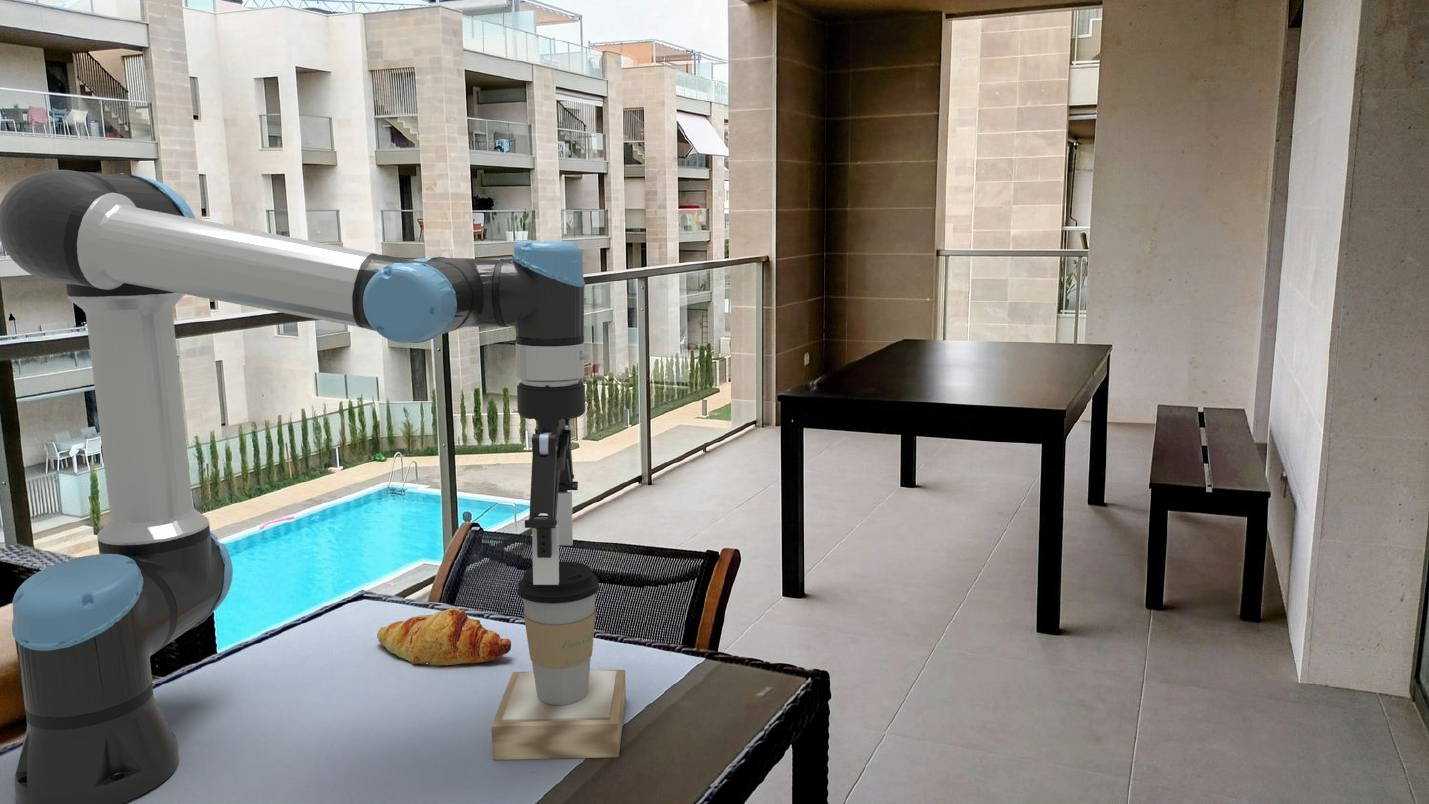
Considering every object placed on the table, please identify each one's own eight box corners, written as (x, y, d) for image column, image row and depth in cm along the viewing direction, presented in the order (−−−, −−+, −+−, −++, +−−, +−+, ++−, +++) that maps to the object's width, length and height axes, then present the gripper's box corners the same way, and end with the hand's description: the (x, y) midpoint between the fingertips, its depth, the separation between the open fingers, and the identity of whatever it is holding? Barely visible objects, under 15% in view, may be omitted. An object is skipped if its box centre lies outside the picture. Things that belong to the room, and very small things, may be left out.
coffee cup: (587, 716, 113) (583, 589, 111) (508, 708, 115) (503, 583, 113) (612, 679, 123) (609, 561, 120) (539, 673, 124) (534, 556, 122)
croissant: (368, 677, 142) (347, 640, 137) (401, 621, 150) (383, 584, 145) (504, 691, 136) (487, 653, 131) (532, 633, 144) (516, 595, 139)
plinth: (493, 759, 113) (491, 724, 112) (513, 701, 126) (512, 669, 126) (618, 757, 113) (617, 721, 112) (625, 699, 127) (625, 667, 126)
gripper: (572, 400, 100) (575, 602, 104) (594, 365, 125) (596, 530, 129) (496, 399, 100) (502, 602, 104) (533, 365, 125) (537, 530, 128)
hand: (554, 563), depth 116 cm, fingers open, 13 cm apart
